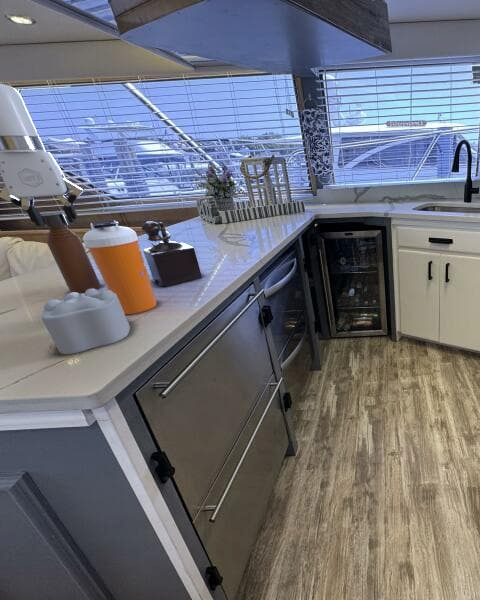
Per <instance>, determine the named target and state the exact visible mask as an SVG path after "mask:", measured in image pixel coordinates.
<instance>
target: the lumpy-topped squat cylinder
mask: <svg viewBox="0 0 480 600" xmlns="http://www.w3.org/2000/svg"><path fill="white" fill-rule="evenodd" d="M43 309H44V310H43V311H42V313H41V315H40V318H41V320H42V322H43V323H44V326H45V327H46V329H47V331H48V334H49V335H50V337H51V339H52V341H53V342H54V345H55V346H56V348H57V350H58V352H59V353H60V354H61V355H72V354H78V353H80V352H84V351H88V350H90V349H94V348H98V347H102V346H107V345H111V344H114V343H117V342H119V341H121V340H123V339H124V338H126V337H127V336H128V335H129V333H130V330H131V326H130V324H129V321H128V319H127V316H126V314H124V311H123V309H122V307H121V304H120V302H119V299H118V297H117V295H116V294H115V293H113V292H112V291H111V290H108V289H103V290H99V289H88V290H86V292H83V293H77V292H69V293H67V294H66V295H65V296H64V298H63V299H60V300H58V299H50V300H48V301H45V303H44V304H43Z"/></svg>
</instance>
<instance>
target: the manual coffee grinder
mask: <svg viewBox="0 0 480 600" xmlns="http://www.w3.org/2000/svg"><path fill="white" fill-rule="evenodd" d="M141 230H142V232H143V233H145V234H146V235H147V236H148V237H147V241H150V242H151V243H150V244H151V245H152V246H151V247H148V248H144V249H142V250H143V256H144V258H145V260H146V263H147V265H148V267H149V271H150V274H151V277H152V281H153V282H152V283H154V284H156V285H158V286H159V287H170V286H175V285H178V284H183V283H188V282H191V281H194V280H199V279H202V273H201V268H200V264H199V261H198V258H197V254H196V250H195V247H194V246H191V245H189V244H187V243H184V242H177V241H173V240H170V239H171V237H172V235H171V234H170V232H168V231H167V230H166V227H165V224H164V223H163V222H161V221H160V222H155V221H146V222H144V223H143V224H142V225H141ZM160 232H161V235H160ZM152 242H154V243H155V242H157V243H156V244H153V243H152Z"/></svg>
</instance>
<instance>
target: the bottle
mask: <svg viewBox="0 0 480 600" xmlns="http://www.w3.org/2000/svg"><path fill="white" fill-rule="evenodd" d="M47 234H48V235H47V236H46V237H47V238H46V239H45V240H46V244H47V247H48V249H49V251H50V252H51V253H50V254H52V257H53V259H54V261H55V263H56V265H57V267H58V269H59V271H60V273H61V276H62V278H63V279H64V282H65V283H66V286H67V288H68V290H69V293H71V292H77V293H79V294H83V293H85V292H86V290H88V289H96V290H99V289H100V288H101V287H102V285H101V283H100V281H99V278H98V276H97V274H96V271H95V269H94V266H93V265H92V262H91V259H90V257H89V255H88V253H87V251H86V249H85V248H86V247H84V246H85V245H84V243H83V242H82V241H83V240H81V237H79V235H78V234H76V233H75V232H74V231H72V229H69V227H67V226H62V227H53V228H48V232H47Z"/></svg>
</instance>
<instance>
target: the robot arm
mask: <svg viewBox="0 0 480 600" xmlns="http://www.w3.org/2000/svg"><path fill="white" fill-rule="evenodd" d="M0 176H1V178H2V180H3V183H4V187H3V188H2V190H1V191H0V198H1V199H3V200H5V201H7V202H10V203H12V204H13V205H15V206H18V207H19V208H21V209H23V210H25V212H26V213H27V215H28V217H29V219H30V221H31V222H32V223H33V224H35V225H36V226H37V227H41V226H45V224H44V222H43V220H42V218H41V215H42V214H41V212H40V210H39V209H38V208H37V207H35V198H39V197H53V196H55V197H56V198H57V199H58V200H59V201H60V202H61V203H62V205H63V207H62V209H63V211H64V214H65V216H66V218H67V220H68V222H69V223H75V222H77V219H78V218H79V217H78V214H77V212H76V209H75V207H74V206H75V203H76V202H77V200H79V197H80V196H81V195H82V194H83V193H84V189H83V188H81V187H79V186H78V185H76V184H74V183H73V182H71V181H69V180H68V179H67V178H66V176H65V175H64V173H63V170H62V169H61V167H60V165H59V163H58V162H57V161H56V159H55V158H54V157H53V155H52V153H51V152H50V151H46V148H45V146H44V144H43V142H42V140H41V138H40V135H39V133H38V131H37V129H36V127H35V124H34V122H33V119H32V117H31V116H30V113H29V110H28V109H27V106H26V104H25V102H24V100H23V97H22V95H21V94H20V92H19V91H18V90H17V89H16V88H14V87H13V86H11V85H7V84H3V83H0ZM71 190H72V193H71V194H70V195H69V196H68V194H69V193H70V192H71ZM20 198H21V199H20Z"/></svg>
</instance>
